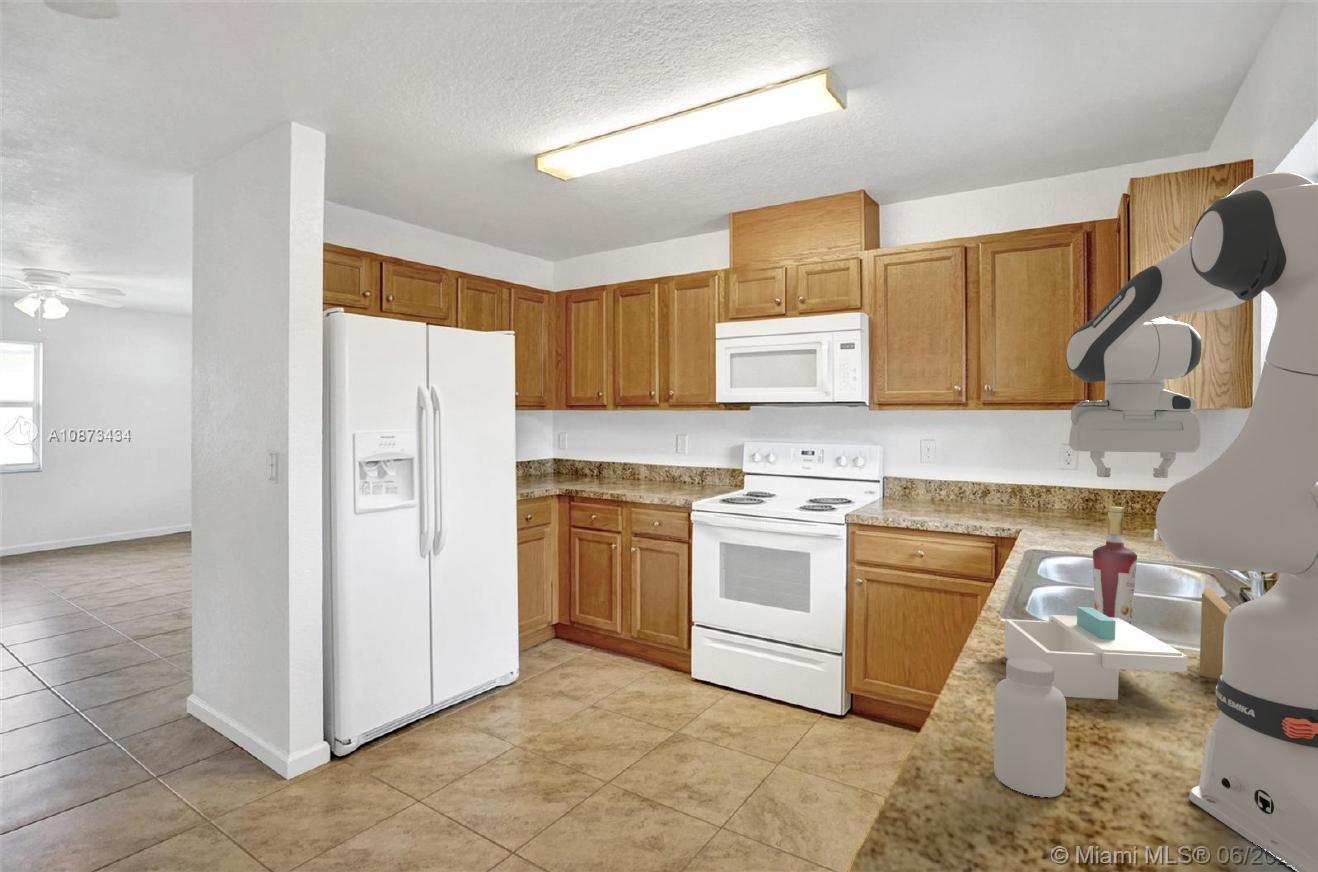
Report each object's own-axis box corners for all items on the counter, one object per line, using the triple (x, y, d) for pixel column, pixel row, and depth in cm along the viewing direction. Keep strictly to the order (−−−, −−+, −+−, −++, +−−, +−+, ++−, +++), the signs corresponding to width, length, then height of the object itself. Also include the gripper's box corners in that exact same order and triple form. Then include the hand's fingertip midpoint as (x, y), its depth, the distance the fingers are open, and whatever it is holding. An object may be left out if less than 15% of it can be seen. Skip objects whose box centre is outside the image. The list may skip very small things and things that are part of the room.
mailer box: (1117, 699, 109) (1119, 656, 108) (1045, 695, 110) (1046, 652, 110) (1066, 659, 127) (1067, 621, 126) (1004, 656, 128) (1005, 619, 128)
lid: (1190, 672, 106) (1191, 635, 106) (1104, 668, 108) (1105, 631, 108) (1119, 631, 126) (1120, 599, 126) (1048, 628, 128) (1049, 596, 128)
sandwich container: (1319, 701, 109) (1323, 610, 108) (1198, 676, 119) (1201, 592, 119) (1317, 686, 115) (1321, 600, 114) (1203, 663, 125) (1205, 584, 125)
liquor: (1128, 655, 129) (1132, 511, 128) (1085, 645, 134) (1089, 507, 133) (1139, 647, 133) (1142, 507, 133) (1096, 637, 139) (1100, 503, 138)
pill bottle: (1000, 758, 90) (1003, 648, 89) (1070, 779, 85) (1073, 663, 84) (985, 783, 84) (988, 665, 83) (1059, 808, 79) (1062, 682, 78)
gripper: (1080, 400, 118) (1078, 478, 119) (1207, 400, 115) (1205, 480, 116) (1063, 400, 124) (1061, 474, 125) (1184, 401, 122) (1181, 476, 122)
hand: (1131, 477), depth 120 cm, fingers open, 8 cm apart
